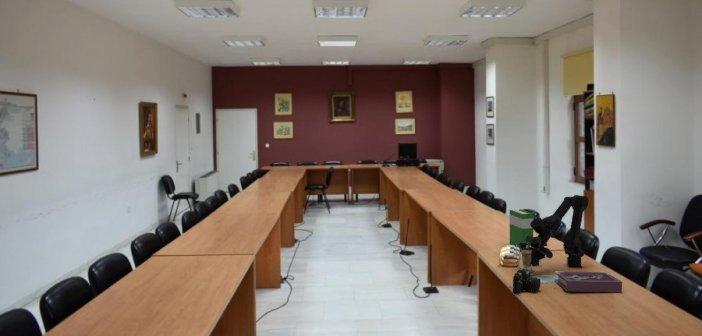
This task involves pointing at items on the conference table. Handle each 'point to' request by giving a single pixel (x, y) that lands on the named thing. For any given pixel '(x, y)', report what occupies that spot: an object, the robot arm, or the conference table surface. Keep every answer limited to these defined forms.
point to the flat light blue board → (546, 278)
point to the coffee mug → (532, 258)
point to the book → (588, 281)
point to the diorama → (509, 253)
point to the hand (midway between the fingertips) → (527, 262)
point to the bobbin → (527, 261)
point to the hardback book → (520, 227)
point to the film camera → (525, 282)
